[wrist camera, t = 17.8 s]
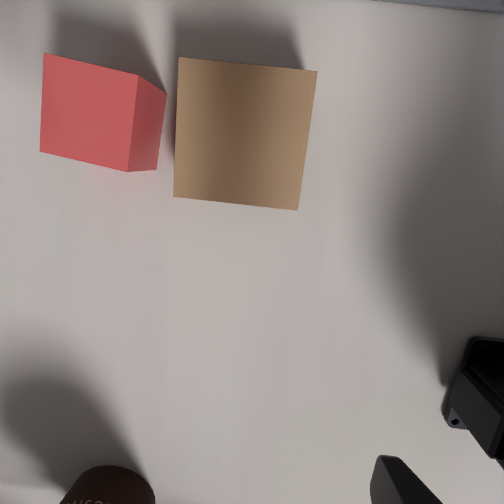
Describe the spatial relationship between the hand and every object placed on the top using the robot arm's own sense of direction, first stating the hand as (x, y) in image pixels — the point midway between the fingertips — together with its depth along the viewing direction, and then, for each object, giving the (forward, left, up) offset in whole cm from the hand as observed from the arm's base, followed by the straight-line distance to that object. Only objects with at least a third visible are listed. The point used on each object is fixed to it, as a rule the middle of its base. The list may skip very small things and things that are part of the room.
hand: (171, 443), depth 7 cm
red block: (+5, -7, -11) cm, 14 cm away
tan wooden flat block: (0, -7, -13) cm, 15 cm away
